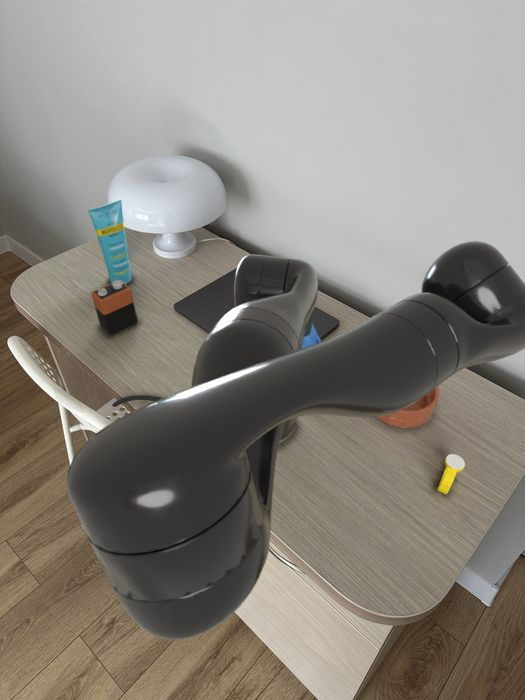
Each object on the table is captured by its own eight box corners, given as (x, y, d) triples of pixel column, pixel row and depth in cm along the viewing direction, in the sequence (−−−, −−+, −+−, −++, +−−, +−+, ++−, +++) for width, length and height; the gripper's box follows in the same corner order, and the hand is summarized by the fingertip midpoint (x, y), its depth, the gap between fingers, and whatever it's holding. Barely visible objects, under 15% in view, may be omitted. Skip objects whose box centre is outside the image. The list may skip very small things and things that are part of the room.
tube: (113, 290, 112) (94, 214, 99) (102, 281, 115) (82, 205, 102) (140, 277, 116) (125, 202, 103) (129, 269, 119) (113, 194, 106)
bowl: (359, 419, 86) (362, 402, 83) (370, 372, 94) (374, 355, 91) (429, 437, 83) (436, 421, 80) (435, 387, 92) (441, 370, 89)
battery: (138, 322, 104) (130, 284, 97) (110, 336, 101) (99, 298, 94) (128, 313, 107) (119, 275, 100) (99, 326, 103) (88, 287, 96)
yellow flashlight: (448, 502, 74) (459, 481, 70) (430, 494, 76) (440, 473, 71) (458, 473, 78) (469, 451, 74) (441, 465, 79) (451, 444, 75)
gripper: (384, 339, 60) (381, 347, 77) (507, 366, 57) (477, 369, 74) (398, 280, 60) (392, 301, 77) (522, 303, 57) (488, 320, 74)
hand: (433, 334), depth 75 cm, fingers closed on supplement bottle, 5 cm apart
